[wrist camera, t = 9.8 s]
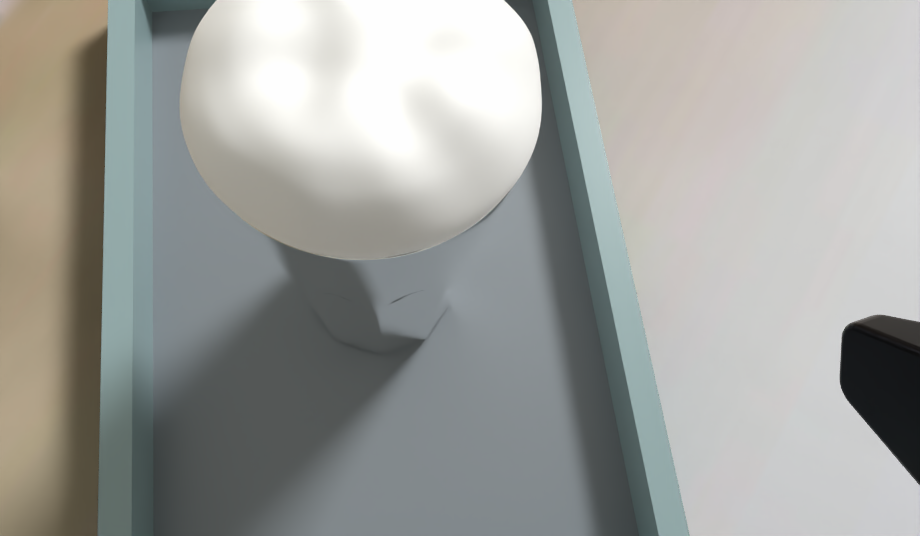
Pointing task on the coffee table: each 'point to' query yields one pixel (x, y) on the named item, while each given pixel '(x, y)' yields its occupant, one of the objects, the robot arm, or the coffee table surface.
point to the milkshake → (364, 144)
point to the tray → (362, 371)
